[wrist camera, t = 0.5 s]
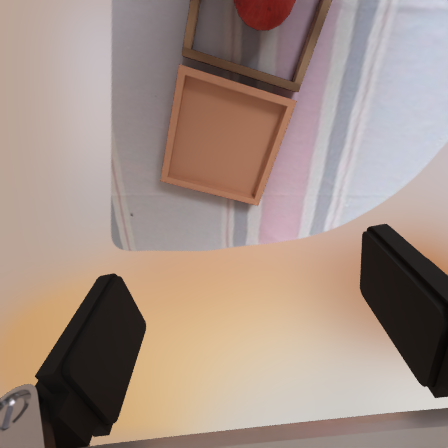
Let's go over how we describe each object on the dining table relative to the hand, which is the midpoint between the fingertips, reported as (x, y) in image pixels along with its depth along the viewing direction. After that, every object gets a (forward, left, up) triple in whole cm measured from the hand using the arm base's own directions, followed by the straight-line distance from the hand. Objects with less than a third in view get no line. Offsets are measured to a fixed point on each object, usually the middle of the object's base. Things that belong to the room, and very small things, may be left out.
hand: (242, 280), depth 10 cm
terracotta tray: (0, -1, -27) cm, 27 cm away
